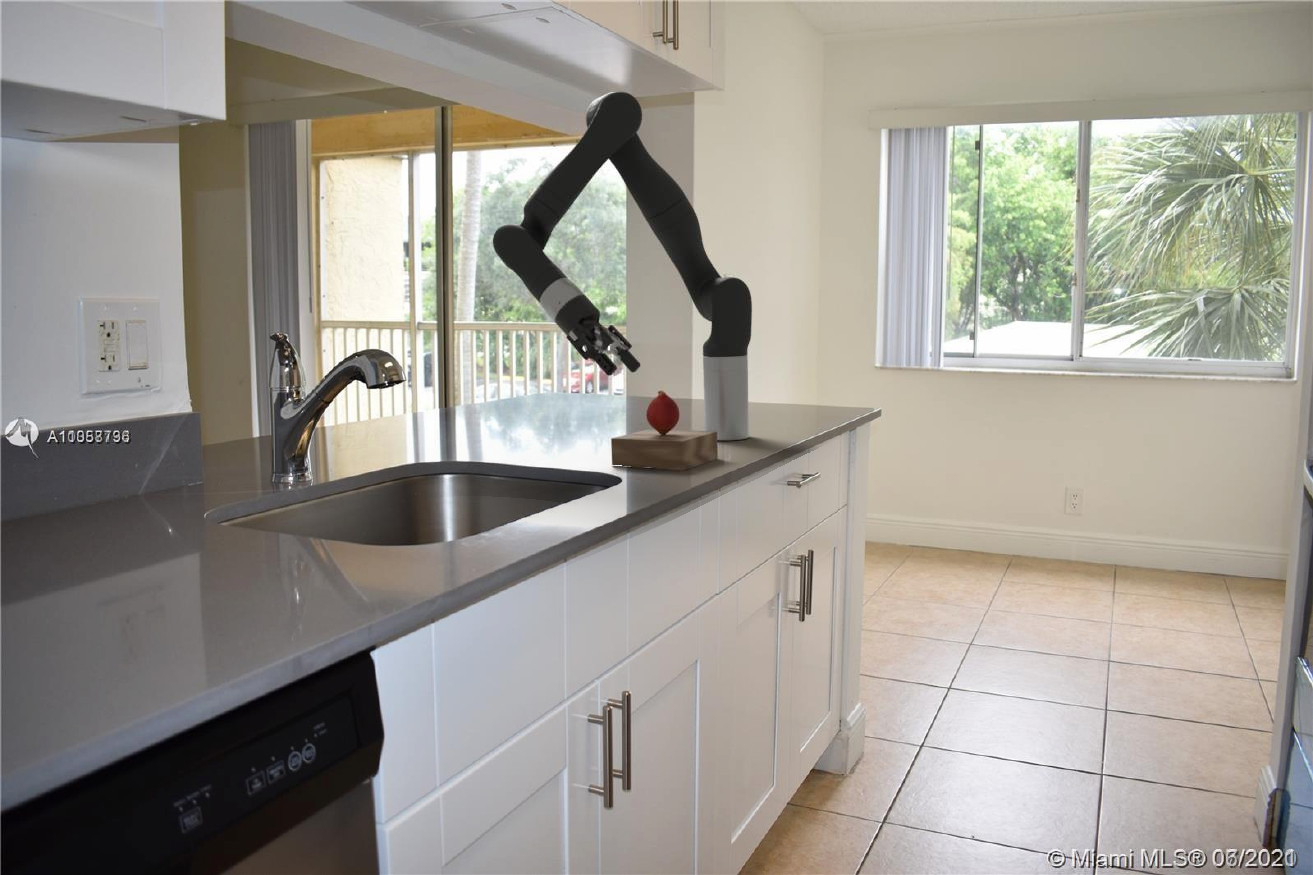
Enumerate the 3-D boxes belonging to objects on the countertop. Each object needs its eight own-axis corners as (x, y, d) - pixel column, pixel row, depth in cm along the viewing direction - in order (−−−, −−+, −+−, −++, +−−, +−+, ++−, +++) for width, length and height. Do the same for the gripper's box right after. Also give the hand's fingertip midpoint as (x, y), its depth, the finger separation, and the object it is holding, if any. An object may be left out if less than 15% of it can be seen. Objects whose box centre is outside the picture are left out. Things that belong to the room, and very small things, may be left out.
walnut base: (650, 455, 188) (649, 428, 188) (717, 458, 182) (717, 431, 181) (612, 466, 176) (611, 438, 175) (682, 470, 169) (682, 441, 169)
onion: (665, 432, 182) (664, 388, 181) (686, 434, 178) (685, 389, 177) (640, 435, 178) (639, 390, 177) (661, 438, 174) (660, 392, 173)
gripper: (559, 293, 176) (617, 358, 172) (601, 293, 189) (656, 353, 185) (536, 324, 179) (592, 388, 176) (578, 321, 192) (632, 382, 188)
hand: (625, 370), depth 180 cm, fingers open, 8 cm apart
